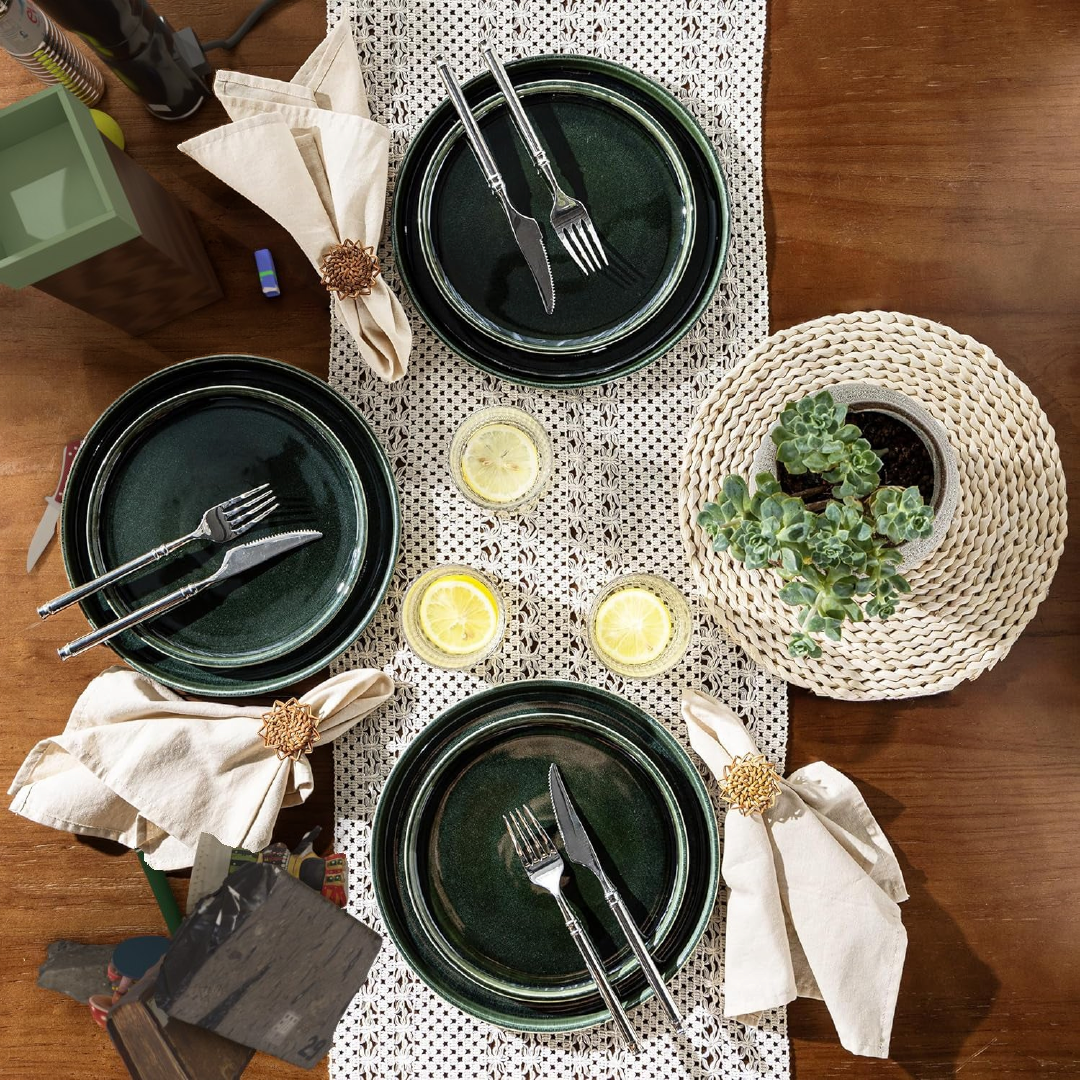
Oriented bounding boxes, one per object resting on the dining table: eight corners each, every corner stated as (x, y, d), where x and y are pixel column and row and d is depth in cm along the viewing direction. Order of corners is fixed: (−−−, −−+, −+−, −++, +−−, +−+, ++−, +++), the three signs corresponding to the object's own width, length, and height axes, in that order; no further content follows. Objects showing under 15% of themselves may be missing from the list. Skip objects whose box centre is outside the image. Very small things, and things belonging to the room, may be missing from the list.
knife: (67, 435, 113) (87, 443, 113) (72, 436, 115) (92, 444, 115) (13, 569, 114) (33, 577, 114) (18, 568, 115) (39, 576, 115)
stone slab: (285, 874, 91) (414, 957, 111) (255, 828, 97) (381, 915, 117) (152, 1013, 86) (312, 1075, 105) (129, 955, 92) (284, 1024, 112)
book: (199, 911, 113) (95, 1014, 88) (244, 890, 113) (153, 987, 88) (249, 1019, 113) (159, 1153, 88) (294, 998, 113) (216, 1127, 88)
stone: (35, 1012, 112) (-2, 1008, 104) (58, 942, 117) (25, 933, 108) (167, 1018, 112) (141, 1015, 104) (185, 948, 117) (162, 940, 109)
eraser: (262, 292, 112) (277, 289, 112) (253, 251, 112) (267, 248, 112) (267, 297, 114) (281, 294, 114) (257, 256, 114) (271, 253, 114)
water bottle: (106, 111, 115) (-22, -10, 90) (60, 111, 115) (-82, -9, 90) (107, 63, 115) (-21, -71, 90) (60, 64, 115) (-80, -70, 90)
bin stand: (186, 207, 114) (85, 117, 90) (224, 296, 114) (133, 230, 90) (98, 247, 115) (-27, 168, 91) (135, 336, 115) (20, 281, 91)
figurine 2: (177, 960, 100) (340, 962, 106) (196, 840, 100) (359, 848, 105) (191, 911, 112) (337, 914, 117) (208, 803, 112) (354, 812, 117)
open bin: (89, 108, 90) (60, 81, 85) (142, 234, 90) (116, 215, 85) (-36, 164, 91) (-72, 142, 86) (17, 290, 91) (-16, 275, 85)
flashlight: (165, 829, 116) (221, 960, 114) (131, 846, 115) (186, 978, 113) (152, 836, 111) (210, 974, 109) (116, 854, 110) (174, 993, 108)
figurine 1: (104, 934, 107) (88, 993, 108) (96, 979, 99) (78, 1044, 99) (199, 937, 112) (183, 994, 113) (199, 980, 104) (182, 1041, 104)
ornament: (128, 179, 115) (86, 145, 105) (81, 169, 115) (34, 134, 105) (139, 131, 115) (98, 91, 105) (91, 121, 115) (46, 80, 105)
